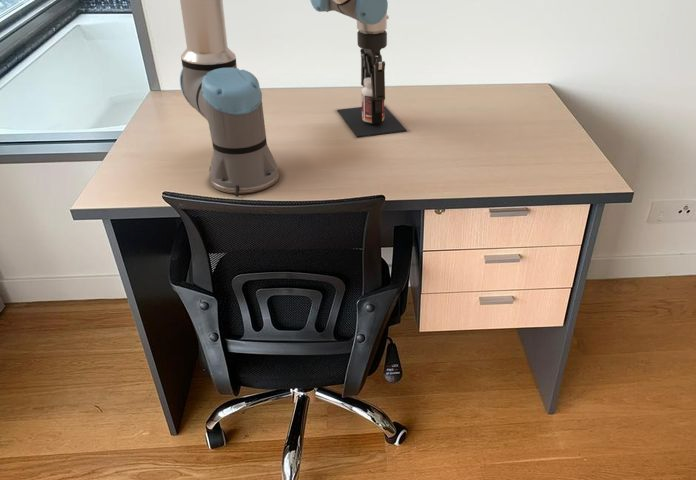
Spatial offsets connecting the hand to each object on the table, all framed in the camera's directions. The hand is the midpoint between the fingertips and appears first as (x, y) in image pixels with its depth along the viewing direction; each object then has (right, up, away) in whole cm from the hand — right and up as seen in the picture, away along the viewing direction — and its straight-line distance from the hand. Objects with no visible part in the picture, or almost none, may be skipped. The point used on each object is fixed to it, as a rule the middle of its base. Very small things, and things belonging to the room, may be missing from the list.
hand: (373, 118), depth 162 cm
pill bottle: (0, -1, 0) cm, 1 cm away
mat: (-1, 0, +2) cm, 2 cm away
